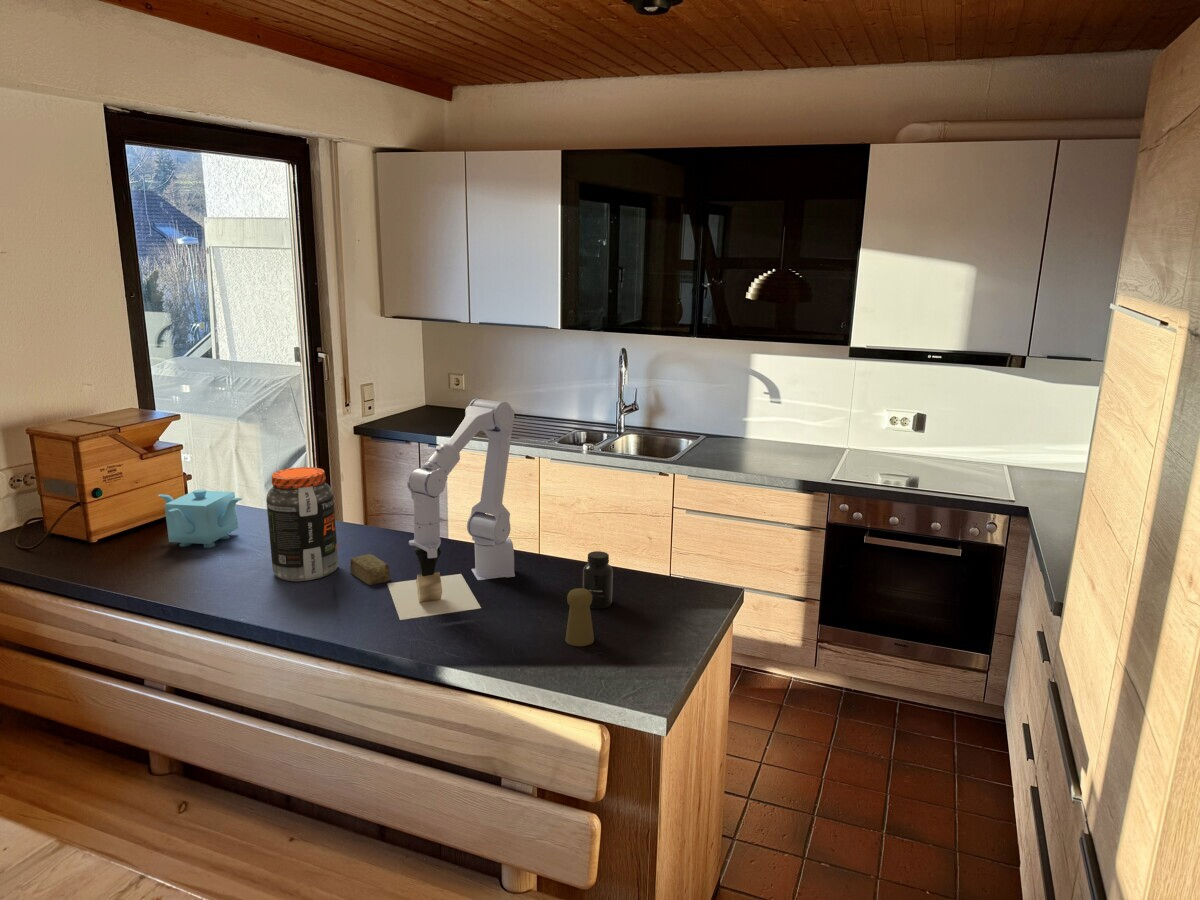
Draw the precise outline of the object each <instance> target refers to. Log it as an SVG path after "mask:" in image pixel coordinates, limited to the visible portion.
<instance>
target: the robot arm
mask: <svg viewBox="0 0 1200 900" xmlns="http://www.w3.org/2000/svg"><path fill="white" fill-rule="evenodd" d="M464 410H465V411H464V415H465V416H464V419H462V422H460V424H459V425H458V427H457V429H456V430H455V432H454V433H453V434H452V435H451V437H450V438H449V440H448V442H447V443H441V444H439V445H437V446H436V448H435V449H434V450H433V451H434V452H433V453H432V454H431V455H430V456H429V458H428V459H427V460H426V462H424V464H423V465H422V466H421V467H418V468H416V469H415V470H413V471H412V472H411V473H410V475H409V478H408V481H407V482H406V485H407V488H408V490H409V491H410V493H411V500H412V501H413V536H414V537H413V539H409V541H408V545H409V546H411V547H412V546H413V547H414V548H413V551H414V553H415V555H416V557H417V560H418V563H419V569H420V573H422V576H429V575H434V572H436V571H435V570H436V567H437V565H436V564H437V562H438V560H439V558H440V555H441V554H442V551H441V549H440V545H441V543H442V539H441V526H440V525H441V523H440V522H441V520H440V519H441V518H440V517H441V516H440V514H441V513H440V512H441V511H440V509H441V508H440V495H441V494H442V493H443V492H444V490H445V487H446V482H447V480H448V477H449V474H450V473H451V472H452V471H453V469H454V468H455V467H456V466H457V464H458V463H459V462H460V460H461V454H460V452H461V451H462V450H463V449H464V448H465V447H466V446H467V445H468V444H469V443H470V441H471V440H473V438H474V437H475V436H476V435H477V434H478V433H479V432H481V431H482V432H483V433H484V434H485V436H486V438H488V442H487V449H486V455H485V456H486V458H485V465H484V473H483V478H482V479H483V480H482V487H481V493H480V501H479V502H478V503H476V504H475V505H473V506H472V507H471V510H470V511H471V512H470V515H469V518H468V520H467V524H466V528H467V529H466V530H467V533H468V534H469V536H471V540H472V541H473V542H474V563H475V564H474V566H475V567H474V568H471V571H472V573H473V575H474V577H475V578H476V580H477V581H483V580H491V579H498V578H514V577H516V574H515V552H514V551H515V550H514V544H513V540H512V539H511V538H509V536H510V534H511V522H510V518H511V513H510V511H509V510H508V509H507V508H506V506H505V505H504V504H503V499H504V493H505V492H504V491H505V486H506V479H507V478H506V477H507V472H508V471H507V470H508V464H509V456H510V455H509V454H510V448H511V442H512V436H513V435H512V434H513V427H514V420H515V410H514V409H513V407H512V406H511V404H510V403H509V402H508V401H497V400H490V399H482V398H473V399H472V400H471V401H470V403H469V405H467V407H466V408H465V409H464Z"/></svg>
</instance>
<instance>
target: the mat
mask: <svg viewBox="0 0 1200 900" xmlns="http://www.w3.org/2000/svg"><path fill="white" fill-rule="evenodd" d="M440 578H441V585H442V596H441V600H434V601H426V602H419V599H418V592H417V584H416V580H417V579H411V580H404V581H403V580H402V581H398V582H388V583H387V588H388V589H389V593H390V595H391V598H392V599H391V600H392V601H393V605H394V608H395V609H396V613H397V615H398V618H399V620H400V621H403V620H409V619H417V618H418V619H419V618H422V617H431V616H432V617H433V616H437V615H444V614H451V613H452V614H453V613H457V612H465V611H472V610H479V609H482V607H481V605H480V603H479V602H478V600H477V598H476V597H475V595H474V593H473V592H472V590H471V588H470V586H469V585H468V583H467V582H466V579H465V578H464V576H463V575H462V573H458V574H449V575H440Z"/></svg>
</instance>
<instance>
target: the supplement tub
mask: <svg viewBox="0 0 1200 900" xmlns="http://www.w3.org/2000/svg"><path fill="white" fill-rule="evenodd" d="M271 484H272V486H271V488H270V489H269V490H268V492H267V495H266V499H265V500H266V511H267V521H268V522H267V523H268V534H269V535H268V536H269V544H270V553H271V556H270V557H271V568H272V571H273V572H272V573H274V575H275V577H278V578H279V579H281V580H283V581H289V582H304V581H305V582H306V581H313V580H316V579H320V578H323V577H326V576H329V575H331V574H332V573H334V572H335V571H336V570H337V568H338V566H339V554H338V553H339V552H338V551H339V550H338V540H337V539H338V538H337V529H336V528H337V527H336V524H337V523H336V514H335V499H334V498H335V497H334V492H333V489H332V488H331V486H330V485H329V484H328V483H327V482H326V473H325V470H324V469H323V468H319V467H311V466H300V467H298V466H297V467H290V468H285V469H281V470H278V471H277V470H276V471H275V472H273V473H272V474H271Z"/></svg>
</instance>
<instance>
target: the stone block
mask: <svg viewBox="0 0 1200 900" xmlns="http://www.w3.org/2000/svg"><path fill="white" fill-rule="evenodd" d="M350 573H351V574H352V575H353V576H355V577H356V578H357V579H359V580H361V581H362V582H363V583H365V584H367V585H370V586H372V585H377V584H381V583H386V582H388V581H390V580H391V576H390V575H391V574H390V566H389V565H388V563H387V562H384V560H381V559H379V558H378V557H377V556H375V555H374V554H371V553H369V554H364V555H359V556H355V557H351V558H350Z"/></svg>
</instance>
